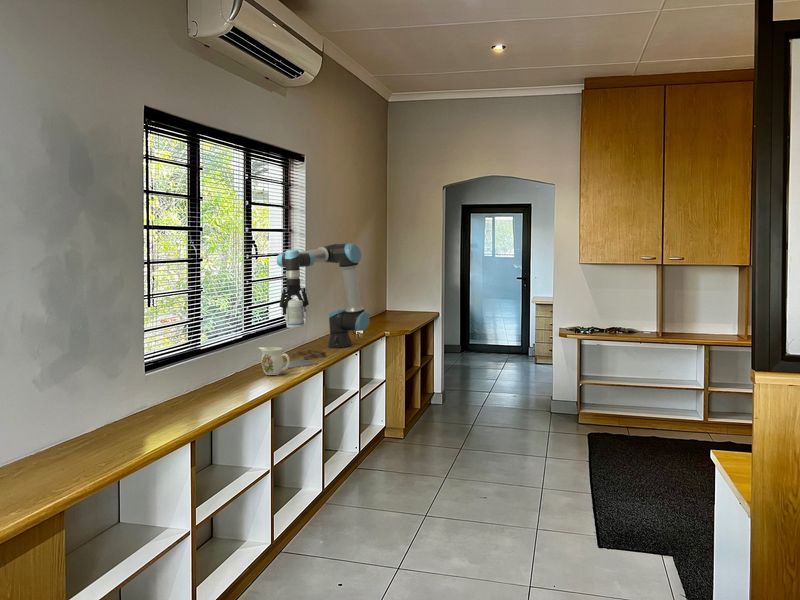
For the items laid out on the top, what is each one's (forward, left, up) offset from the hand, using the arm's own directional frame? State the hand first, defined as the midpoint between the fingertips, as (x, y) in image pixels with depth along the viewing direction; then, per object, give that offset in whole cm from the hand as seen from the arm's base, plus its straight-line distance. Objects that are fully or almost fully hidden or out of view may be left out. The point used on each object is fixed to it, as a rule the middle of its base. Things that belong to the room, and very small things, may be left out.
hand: (294, 319), depth 378 cm
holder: (-14, -13, -24) cm, 31 cm away
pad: (+2, +3, -24) cm, 25 cm away
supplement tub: (0, 0, -5) cm, 5 cm away
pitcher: (+24, +21, -25) cm, 40 cm away
